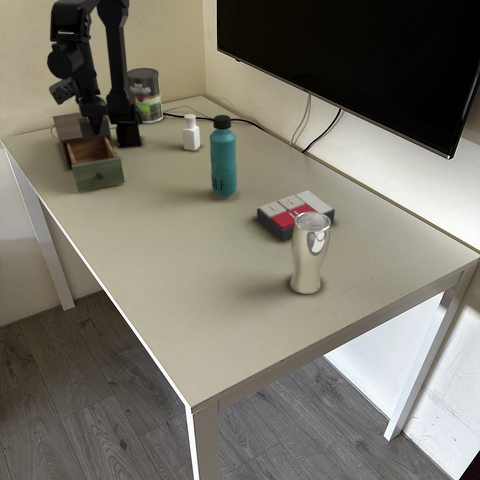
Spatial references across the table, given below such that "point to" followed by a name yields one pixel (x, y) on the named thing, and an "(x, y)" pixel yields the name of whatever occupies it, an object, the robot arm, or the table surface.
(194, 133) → the salt shaker
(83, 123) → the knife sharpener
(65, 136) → the cabinet
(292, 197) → the grey and red box
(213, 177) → the beverage bottle
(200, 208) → the table surface
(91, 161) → the drawer
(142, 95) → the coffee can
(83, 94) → the robot arm
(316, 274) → the beer glass
